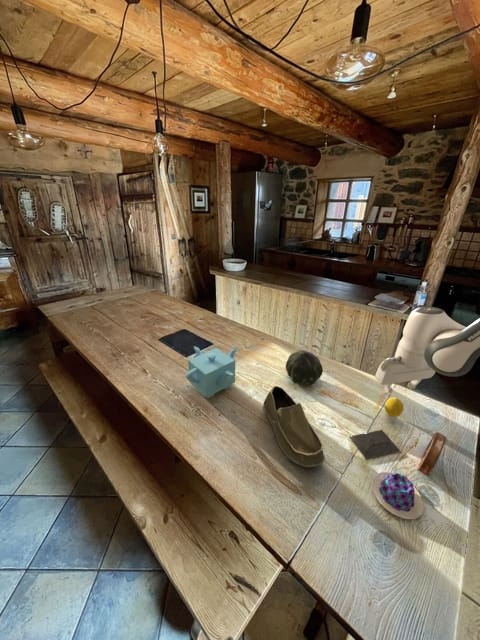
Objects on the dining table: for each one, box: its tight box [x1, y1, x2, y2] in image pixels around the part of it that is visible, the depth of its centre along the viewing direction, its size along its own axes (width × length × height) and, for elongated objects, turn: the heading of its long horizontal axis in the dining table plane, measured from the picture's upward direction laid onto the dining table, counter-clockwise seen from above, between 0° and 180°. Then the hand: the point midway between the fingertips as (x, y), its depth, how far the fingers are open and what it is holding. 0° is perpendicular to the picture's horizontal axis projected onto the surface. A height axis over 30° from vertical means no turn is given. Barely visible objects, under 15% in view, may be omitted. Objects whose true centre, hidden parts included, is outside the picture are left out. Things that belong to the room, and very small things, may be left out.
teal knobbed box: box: [185, 345, 239, 398], centre depth 105 cm, size 19×19×15 cm
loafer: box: [262, 385, 326, 468], centre depth 85 cm, size 11×30×10 cm, turn 23°
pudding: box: [371, 471, 424, 520], centre depth 69 cm, size 12×12×5 cm
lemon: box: [384, 397, 404, 418], centre depth 93 cm, size 6×6×8 cm
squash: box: [285, 349, 324, 386], centre depth 110 cm, size 14×15×15 cm
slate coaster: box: [349, 429, 401, 460], centre depth 84 cm, size 12×8×1 cm, turn 103°
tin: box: [416, 430, 447, 477], centre depth 77 cm, size 15×3×8 cm, turn 134°
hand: (399, 389), depth 90 cm, fingers open, 8 cm apart
